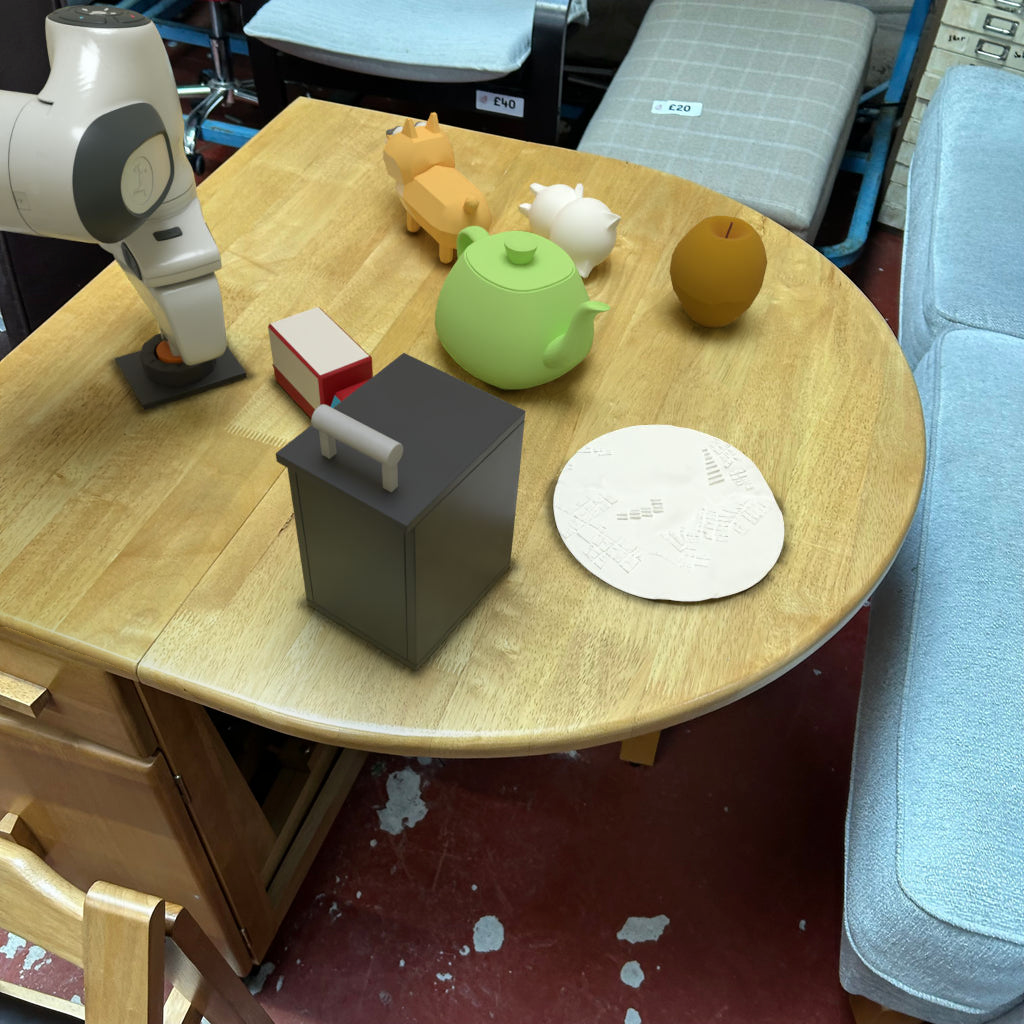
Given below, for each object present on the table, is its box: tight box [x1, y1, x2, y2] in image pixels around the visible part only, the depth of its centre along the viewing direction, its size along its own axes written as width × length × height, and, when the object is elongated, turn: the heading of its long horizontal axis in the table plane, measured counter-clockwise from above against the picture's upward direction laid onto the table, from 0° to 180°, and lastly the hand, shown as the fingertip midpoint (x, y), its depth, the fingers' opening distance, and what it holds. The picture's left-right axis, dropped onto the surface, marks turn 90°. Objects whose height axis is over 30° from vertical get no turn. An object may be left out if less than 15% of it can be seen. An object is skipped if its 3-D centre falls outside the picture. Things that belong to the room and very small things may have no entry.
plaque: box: [552, 424, 785, 602], centre depth 83 cm, size 20×20×2 cm
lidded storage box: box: [286, 419, 526, 672], centre depth 70 cm, size 13×11×16 cm
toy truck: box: [267, 306, 374, 419], centre depth 87 cm, size 6×15×7 cm, turn 38°
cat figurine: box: [518, 182, 622, 279], centre depth 109 cm, size 9×11×12 cm
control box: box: [114, 332, 248, 411], centre depth 91 cm, size 10×8×2 cm
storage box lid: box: [275, 352, 526, 534], centre depth 62 cm, size 13×11×5 cm
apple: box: [669, 215, 768, 328], centre depth 100 cm, size 10×10×12 cm
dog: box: [382, 111, 493, 265], centre depth 107 cm, size 8×20×13 cm, turn 33°
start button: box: [157, 341, 184, 363], centre depth 91 cm, size 4×4×2 cm
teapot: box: [434, 226, 611, 391], centre depth 92 cm, size 22×15×13 cm
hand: (177, 347), depth 90 cm, fingers closed, pressing on start button
